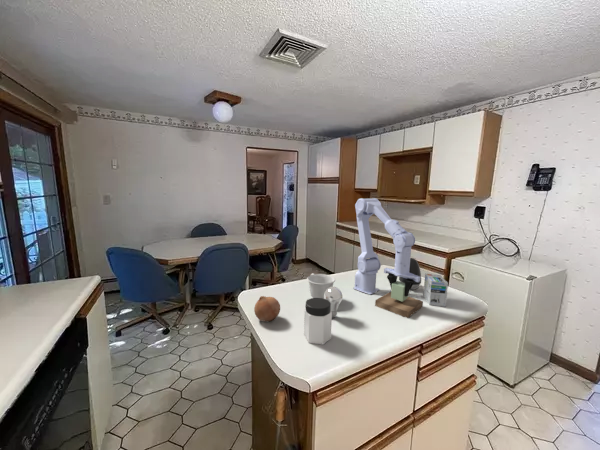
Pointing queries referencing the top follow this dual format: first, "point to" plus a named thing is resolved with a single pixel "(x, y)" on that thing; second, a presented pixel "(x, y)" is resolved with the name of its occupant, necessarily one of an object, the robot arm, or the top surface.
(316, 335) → the jar
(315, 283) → the teacup
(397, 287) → the green block
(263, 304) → the onion
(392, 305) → the walnut base
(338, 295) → the light bulb
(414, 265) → the black egg-shaped speaker
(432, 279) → the light bulb box
